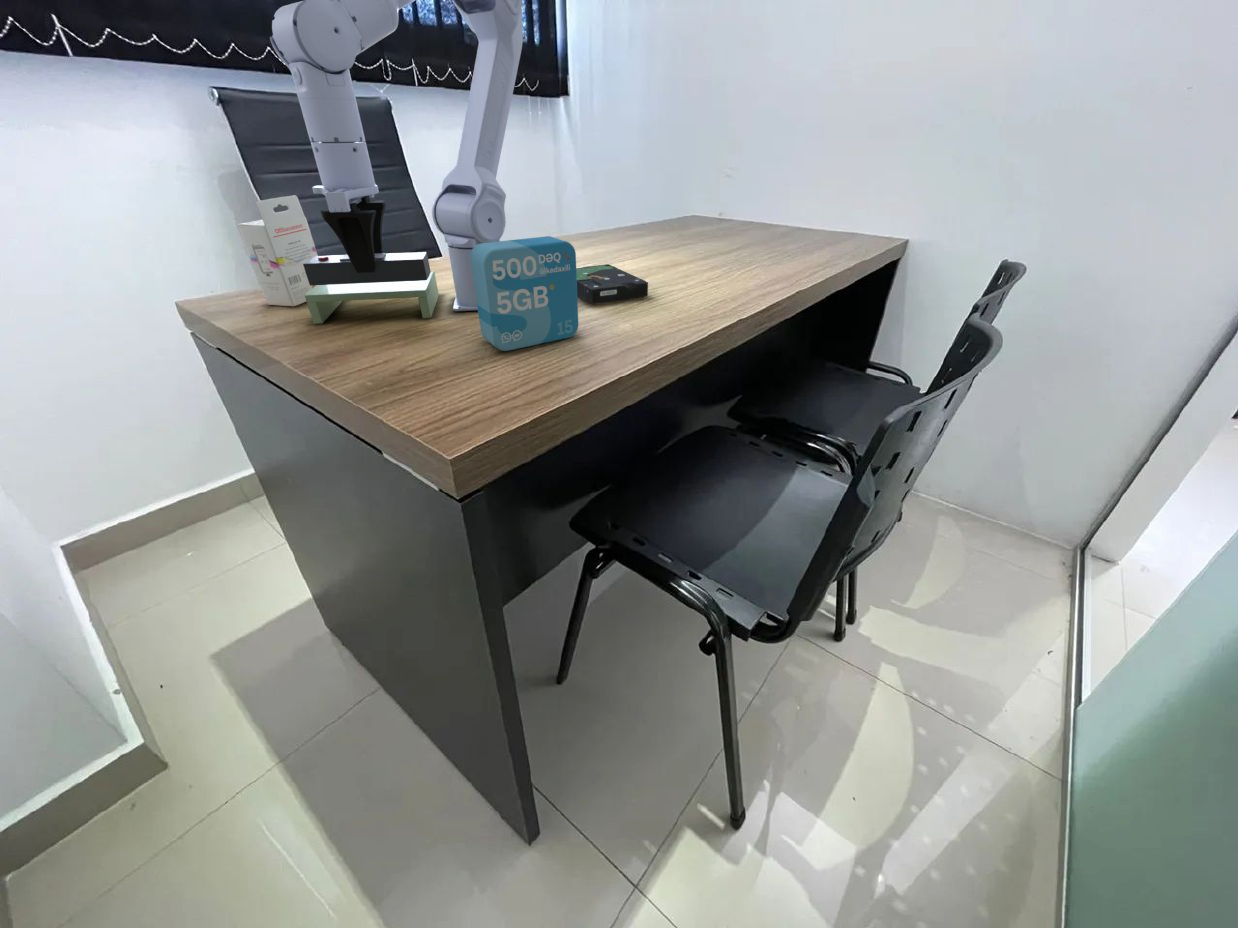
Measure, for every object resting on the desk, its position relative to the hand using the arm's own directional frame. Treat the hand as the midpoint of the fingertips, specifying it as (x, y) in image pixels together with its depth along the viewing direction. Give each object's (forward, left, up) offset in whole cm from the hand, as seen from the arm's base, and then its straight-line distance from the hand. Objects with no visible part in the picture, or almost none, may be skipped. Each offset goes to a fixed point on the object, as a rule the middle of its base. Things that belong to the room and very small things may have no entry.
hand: (370, 267), depth 66 cm
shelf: (+3, -11, -8) cm, 14 cm away
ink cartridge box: (+17, -19, -8) cm, 26 cm away
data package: (-19, +7, -8) cm, 22 cm away
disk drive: (-32, -15, -8) cm, 37 cm away
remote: (0, 0, -1) cm, 1 cm away
